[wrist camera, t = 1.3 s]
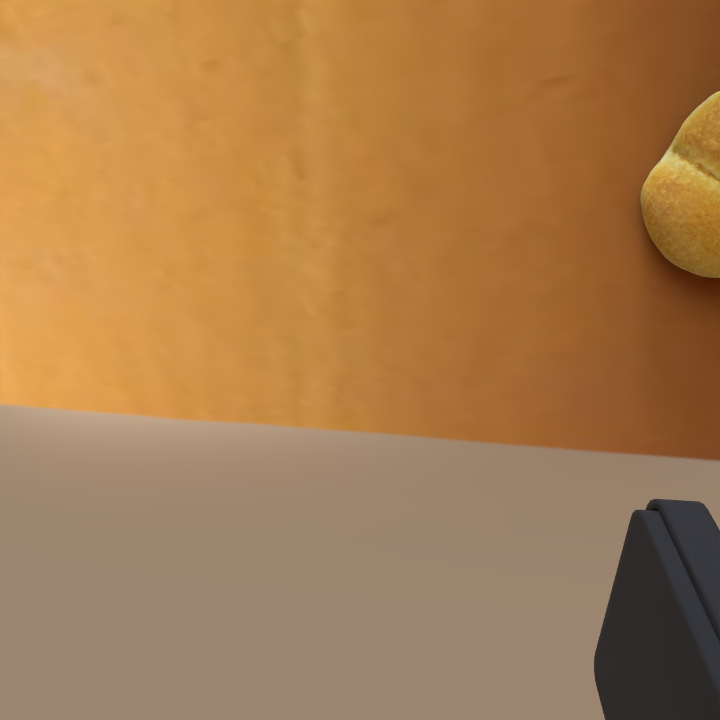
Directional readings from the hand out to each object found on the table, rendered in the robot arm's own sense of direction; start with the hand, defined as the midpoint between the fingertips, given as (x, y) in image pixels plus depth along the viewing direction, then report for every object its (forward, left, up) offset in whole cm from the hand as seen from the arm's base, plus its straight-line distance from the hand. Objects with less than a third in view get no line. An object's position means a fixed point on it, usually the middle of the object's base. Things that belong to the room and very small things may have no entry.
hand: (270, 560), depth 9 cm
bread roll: (-8, +15, -28) cm, 33 cm away
